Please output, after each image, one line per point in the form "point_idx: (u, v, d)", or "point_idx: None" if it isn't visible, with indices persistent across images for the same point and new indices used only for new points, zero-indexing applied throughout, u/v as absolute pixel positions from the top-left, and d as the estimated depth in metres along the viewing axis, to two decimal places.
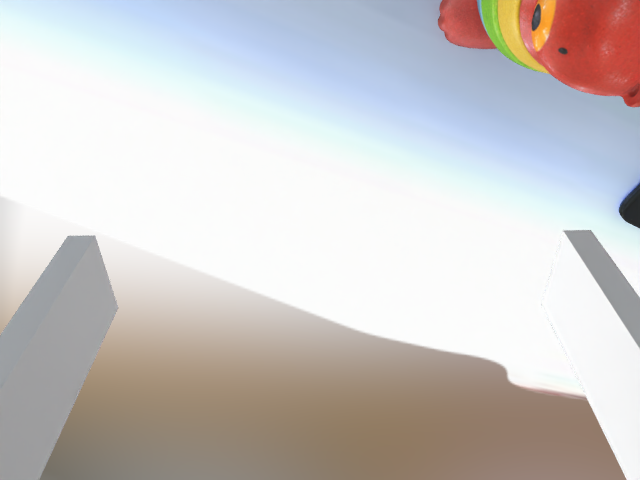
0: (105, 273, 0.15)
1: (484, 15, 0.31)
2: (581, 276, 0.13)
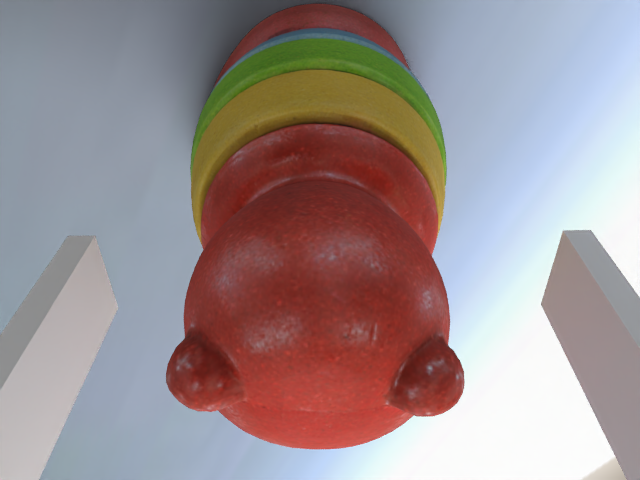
0: (105, 272, 0.15)
1: None
2: (580, 276, 0.13)
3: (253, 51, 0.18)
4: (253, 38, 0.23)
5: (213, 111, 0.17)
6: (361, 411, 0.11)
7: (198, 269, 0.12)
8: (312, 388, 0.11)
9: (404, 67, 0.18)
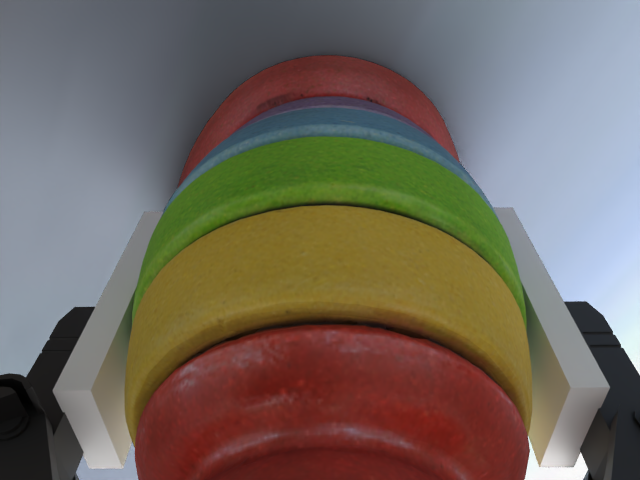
0: None
1: None
2: None
3: (228, 149, 0.12)
4: (237, 104, 0.16)
5: (160, 255, 0.11)
6: None
7: None
8: None
9: (462, 173, 0.12)
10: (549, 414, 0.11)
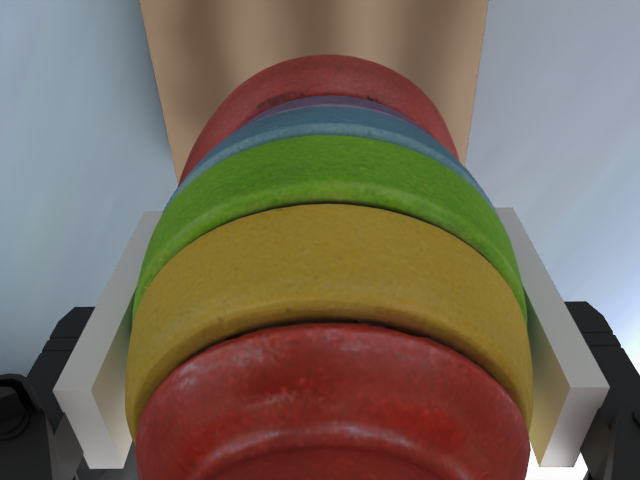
0: None
1: None
2: None
3: (229, 148, 0.12)
4: (237, 103, 0.16)
5: (161, 254, 0.11)
6: None
7: None
8: None
9: (462, 172, 0.12)
10: (549, 414, 0.11)
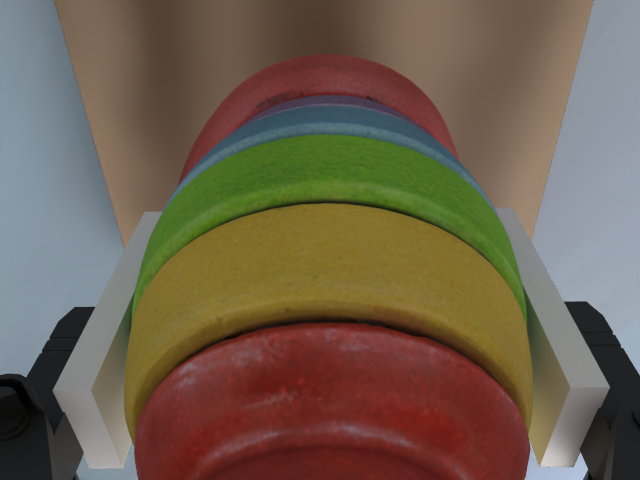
0: None
1: None
2: None
3: (228, 148, 0.12)
4: (237, 103, 0.16)
5: (159, 254, 0.11)
6: None
7: None
8: None
9: (462, 171, 0.12)
10: (548, 414, 0.11)
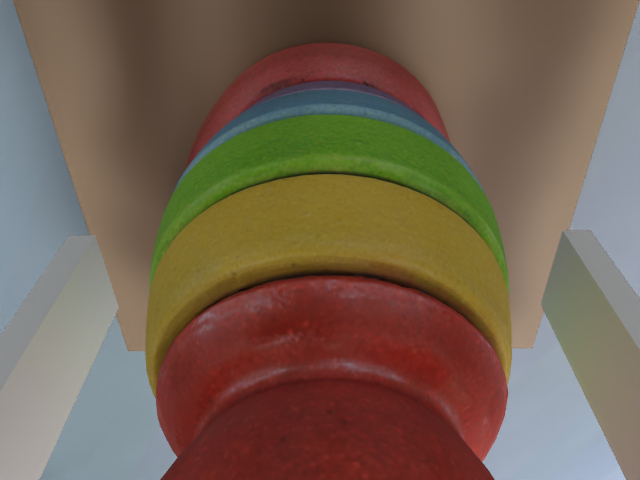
0: (105, 272, 0.15)
1: None
2: (580, 275, 0.13)
3: (237, 127, 0.13)
4: (242, 88, 0.17)
5: (176, 222, 0.12)
6: None
7: None
8: None
9: (450, 149, 0.13)
10: None
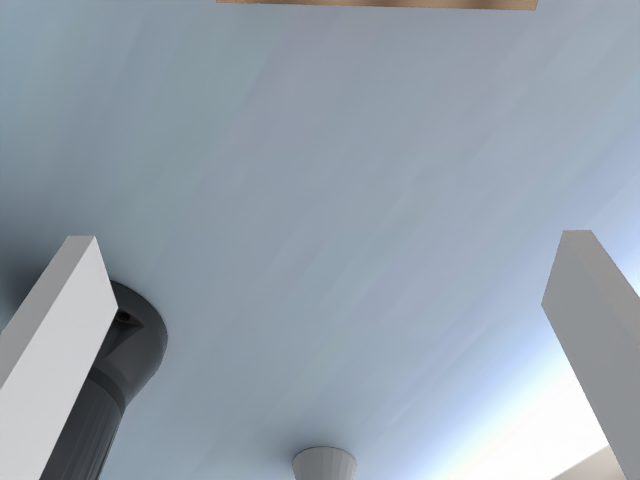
0: (105, 273, 0.15)
1: None
2: (581, 276, 0.13)
3: None
4: None
5: None
6: None
7: None
8: None
9: None
10: None
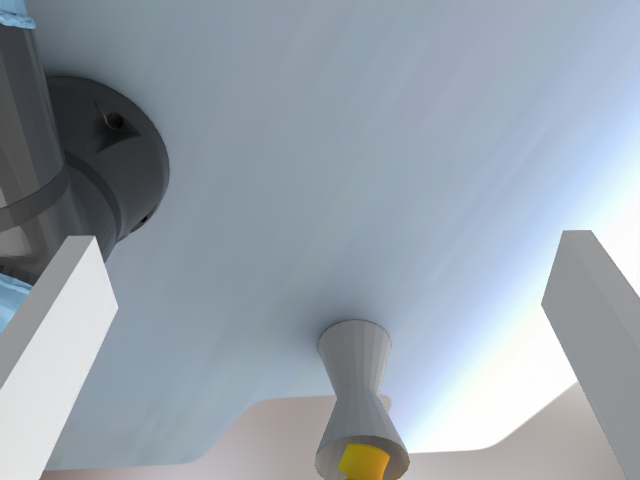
0: (105, 273, 0.15)
1: None
2: (581, 275, 0.13)
3: None
4: None
5: None
6: None
7: None
8: None
9: None
10: None
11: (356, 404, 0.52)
